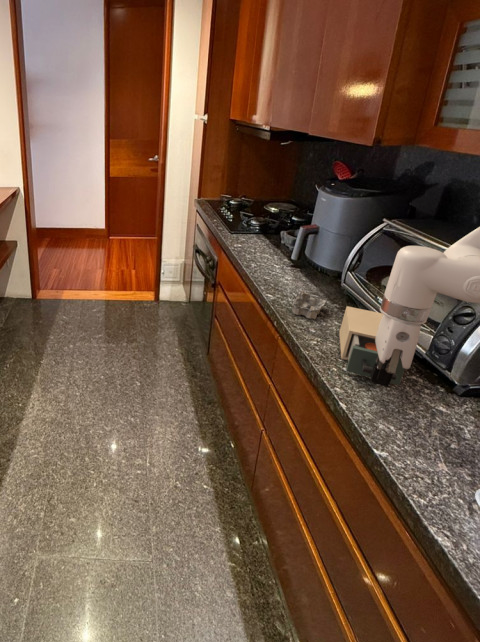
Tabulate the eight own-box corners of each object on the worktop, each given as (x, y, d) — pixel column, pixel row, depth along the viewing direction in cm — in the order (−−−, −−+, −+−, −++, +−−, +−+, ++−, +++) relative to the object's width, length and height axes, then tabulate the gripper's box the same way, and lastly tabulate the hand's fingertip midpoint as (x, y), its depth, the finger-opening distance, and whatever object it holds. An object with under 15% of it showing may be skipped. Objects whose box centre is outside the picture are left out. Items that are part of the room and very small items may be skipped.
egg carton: (300, 300, 125) (302, 289, 123) (325, 308, 120) (328, 297, 118) (287, 312, 118) (290, 300, 116) (314, 321, 113) (317, 309, 111)
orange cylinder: (377, 358, 94) (382, 344, 93) (383, 368, 91) (387, 354, 89) (358, 354, 95) (362, 341, 94) (363, 364, 92) (367, 350, 90)
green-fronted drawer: (402, 397, 83) (411, 372, 81) (347, 382, 88) (354, 358, 85) (390, 355, 97) (398, 332, 94) (343, 344, 101) (350, 322, 99)
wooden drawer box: (396, 372, 92) (407, 343, 89) (341, 358, 97) (349, 330, 94) (388, 343, 103) (397, 316, 100) (339, 332, 108) (346, 306, 105)
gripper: (438, 331, 68) (406, 411, 75) (420, 296, 81) (394, 367, 88) (387, 321, 72) (361, 398, 79) (377, 288, 84) (355, 358, 91)
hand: (379, 382), depth 83 cm, fingers closed
